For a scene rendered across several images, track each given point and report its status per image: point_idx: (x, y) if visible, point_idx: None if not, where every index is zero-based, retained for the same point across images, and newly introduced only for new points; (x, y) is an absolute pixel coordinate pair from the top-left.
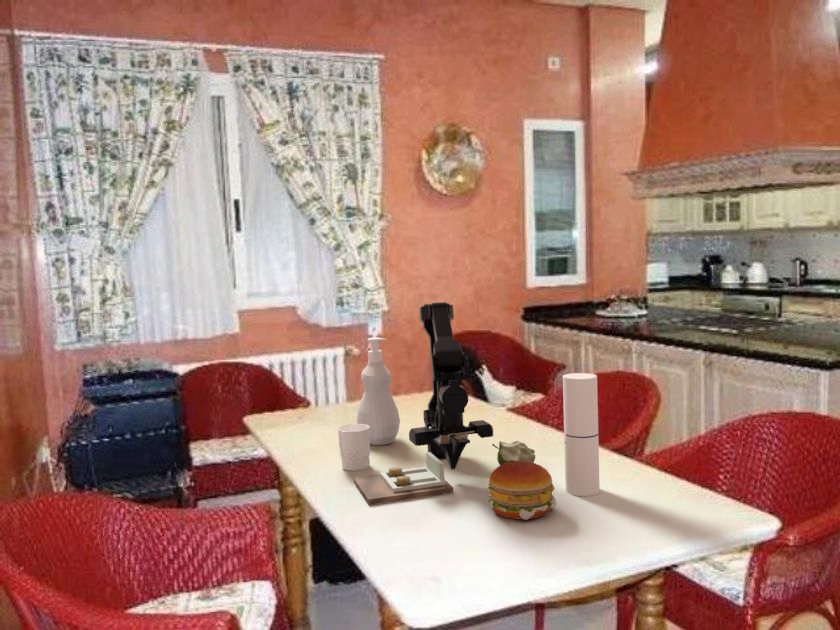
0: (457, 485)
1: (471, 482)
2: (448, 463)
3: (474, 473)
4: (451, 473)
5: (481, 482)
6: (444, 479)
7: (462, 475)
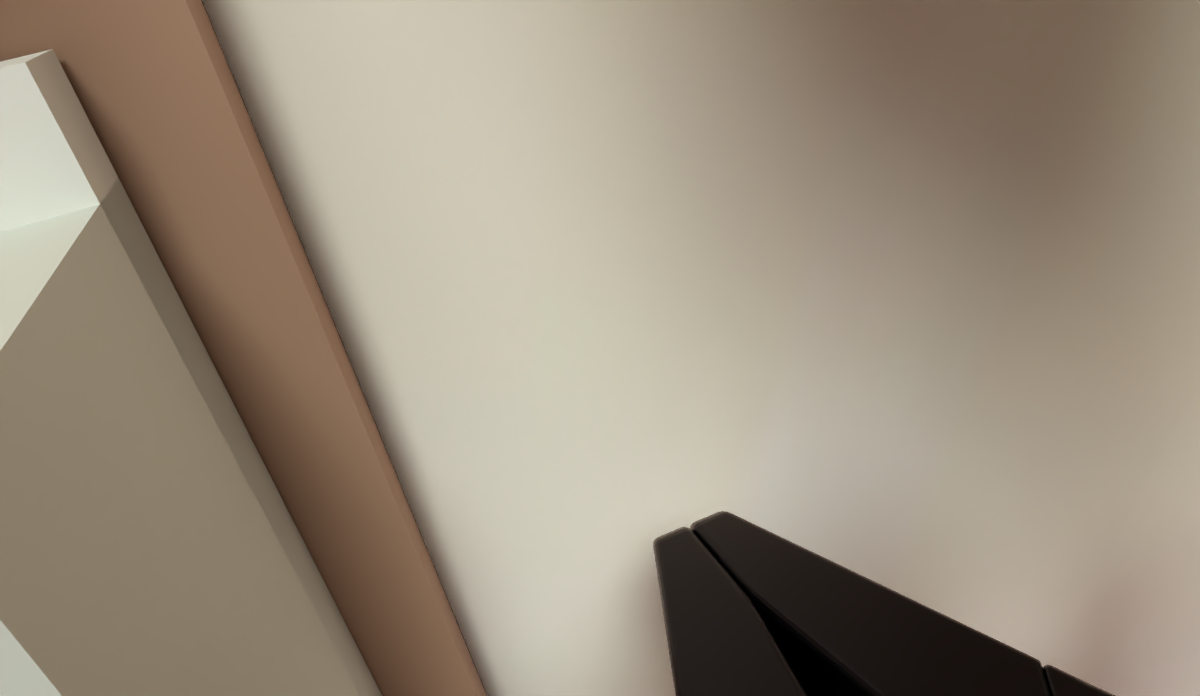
0: (635, 625)
1: (834, 508)
2: (666, 633)
3: (1006, 94)
4: (634, 4)
5: (942, 504)
6: (470, 687)
7: (803, 178)
